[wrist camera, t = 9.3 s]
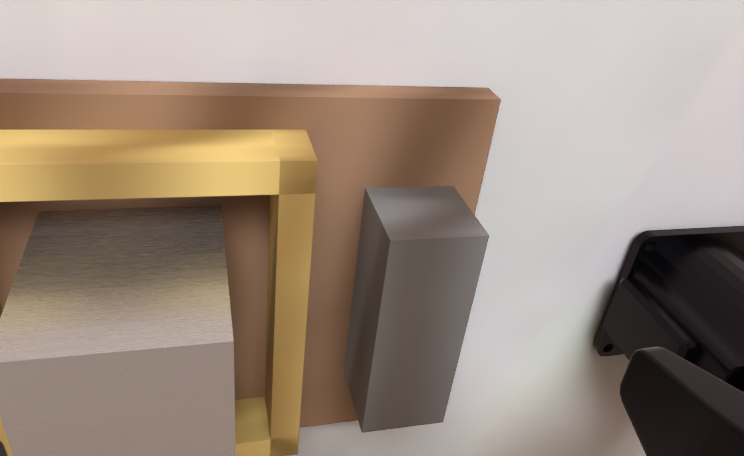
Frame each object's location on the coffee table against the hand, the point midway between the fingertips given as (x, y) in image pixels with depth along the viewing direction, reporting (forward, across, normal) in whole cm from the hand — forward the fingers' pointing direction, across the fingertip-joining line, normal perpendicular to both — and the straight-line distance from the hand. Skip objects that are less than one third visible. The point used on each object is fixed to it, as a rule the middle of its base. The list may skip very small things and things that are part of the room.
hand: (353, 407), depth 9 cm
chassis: (+12, +2, +6) cm, 14 cm away
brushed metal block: (+11, +4, +6) cm, 13 cm away
